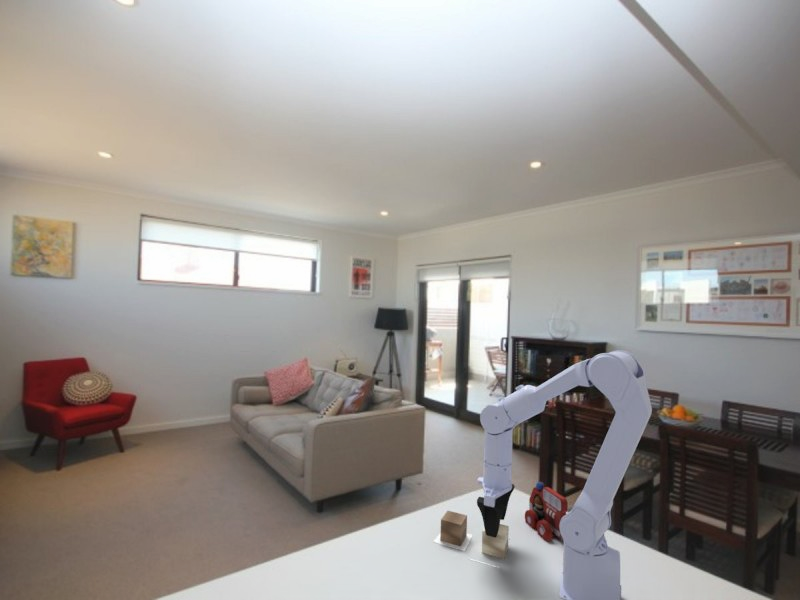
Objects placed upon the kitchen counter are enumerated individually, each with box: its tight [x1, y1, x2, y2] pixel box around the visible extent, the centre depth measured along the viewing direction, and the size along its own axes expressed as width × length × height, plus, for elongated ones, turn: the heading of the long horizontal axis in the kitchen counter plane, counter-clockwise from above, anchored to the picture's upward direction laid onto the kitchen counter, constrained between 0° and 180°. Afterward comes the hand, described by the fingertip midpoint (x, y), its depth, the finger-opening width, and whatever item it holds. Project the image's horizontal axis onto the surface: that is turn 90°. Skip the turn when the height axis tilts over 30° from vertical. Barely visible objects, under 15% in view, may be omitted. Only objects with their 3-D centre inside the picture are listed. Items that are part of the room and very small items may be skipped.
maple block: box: [481, 523, 510, 560], centre depth 86 cm, size 4×4×4 cm
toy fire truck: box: [524, 481, 569, 542], centre depth 95 cm, size 7×12×10 cm, turn 15°
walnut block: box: [440, 510, 468, 546], centre depth 90 cm, size 4×4×4 cm
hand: (495, 526), depth 87 cm, fingers open, 7 cm apart
